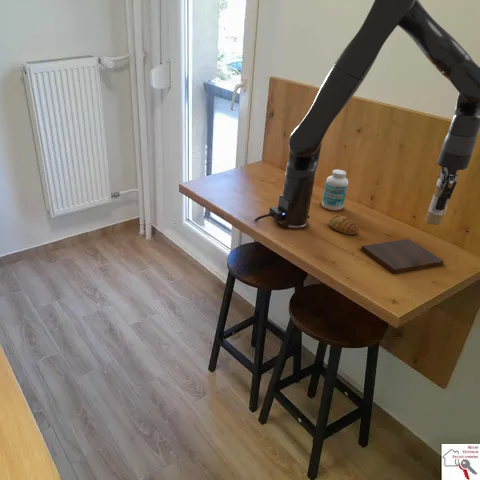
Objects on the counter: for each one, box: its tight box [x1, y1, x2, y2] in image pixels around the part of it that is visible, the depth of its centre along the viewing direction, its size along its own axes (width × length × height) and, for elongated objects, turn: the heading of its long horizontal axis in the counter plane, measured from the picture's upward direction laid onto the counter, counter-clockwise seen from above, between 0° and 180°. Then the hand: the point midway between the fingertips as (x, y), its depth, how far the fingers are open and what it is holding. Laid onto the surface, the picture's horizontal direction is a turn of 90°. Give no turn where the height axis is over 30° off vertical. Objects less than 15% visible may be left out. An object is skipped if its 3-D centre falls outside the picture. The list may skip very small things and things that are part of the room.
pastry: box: [328, 214, 360, 235], centre depth 154 cm, size 9×7×4 cm
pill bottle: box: [321, 169, 350, 211], centre depth 168 cm, size 8×7×14 cm
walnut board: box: [360, 238, 445, 275], centre depth 139 cm, size 17×14×2 cm
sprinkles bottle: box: [425, 177, 451, 226], centre depth 138 cm, size 5×5×13 cm
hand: (438, 206), depth 138 cm, fingers closed on sprinkles bottle, 4 cm apart
